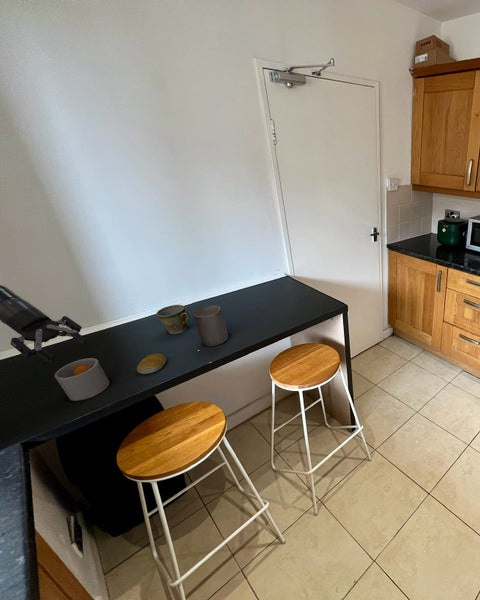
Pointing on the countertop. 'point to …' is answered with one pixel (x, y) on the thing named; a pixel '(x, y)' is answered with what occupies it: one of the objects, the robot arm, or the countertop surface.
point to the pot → (82, 379)
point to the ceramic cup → (173, 318)
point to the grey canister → (211, 325)
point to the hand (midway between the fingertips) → (69, 351)
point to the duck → (81, 369)
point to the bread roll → (151, 363)
